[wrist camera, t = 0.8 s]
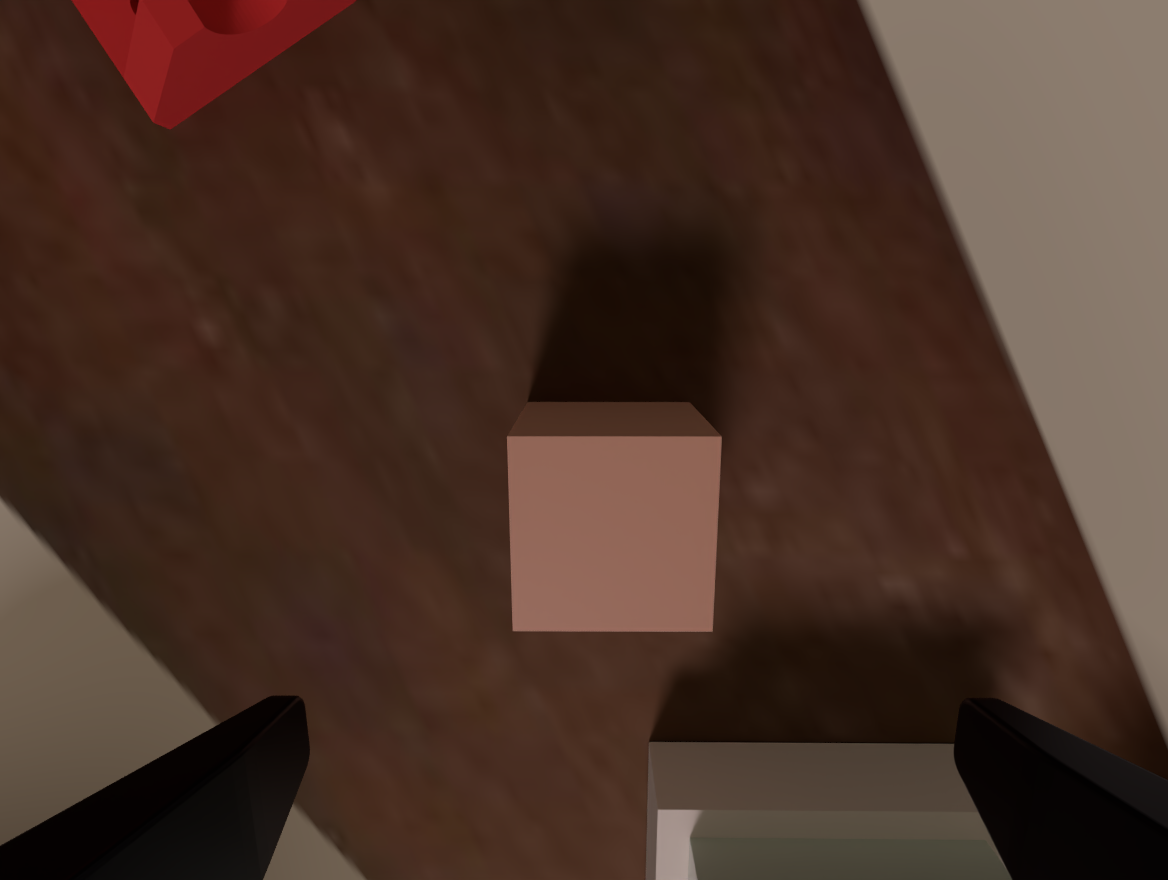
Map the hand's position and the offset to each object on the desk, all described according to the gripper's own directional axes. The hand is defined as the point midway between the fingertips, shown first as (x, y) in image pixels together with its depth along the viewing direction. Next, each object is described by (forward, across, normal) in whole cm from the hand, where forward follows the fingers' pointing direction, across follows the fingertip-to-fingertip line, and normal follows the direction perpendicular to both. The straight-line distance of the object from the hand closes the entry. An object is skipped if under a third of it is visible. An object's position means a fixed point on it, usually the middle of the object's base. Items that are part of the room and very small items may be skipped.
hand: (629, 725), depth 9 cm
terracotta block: (+12, 0, 0) cm, 12 cm away
